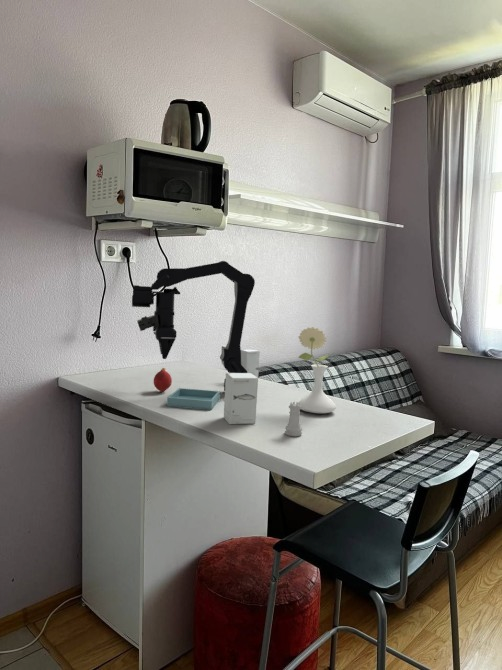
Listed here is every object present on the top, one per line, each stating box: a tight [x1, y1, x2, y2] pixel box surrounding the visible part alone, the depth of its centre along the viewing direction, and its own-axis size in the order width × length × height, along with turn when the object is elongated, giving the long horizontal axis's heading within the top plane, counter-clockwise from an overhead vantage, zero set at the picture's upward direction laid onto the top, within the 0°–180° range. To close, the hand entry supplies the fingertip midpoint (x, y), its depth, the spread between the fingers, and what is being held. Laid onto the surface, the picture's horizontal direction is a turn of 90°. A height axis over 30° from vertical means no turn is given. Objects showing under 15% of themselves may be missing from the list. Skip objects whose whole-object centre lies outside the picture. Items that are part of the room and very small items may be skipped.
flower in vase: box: [298, 326, 337, 414], centre depth 156 cm, size 13×11×25 cm
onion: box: [153, 367, 173, 393], centre depth 170 cm, size 6×6×8 cm
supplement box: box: [223, 372, 259, 425], centre depth 142 cm, size 7×7×13 cm
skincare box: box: [241, 349, 261, 379], centre depth 192 cm, size 6×4×12 cm
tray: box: [166, 387, 221, 411], centre depth 159 cm, size 13×13×3 cm
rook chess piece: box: [284, 401, 303, 438], centre depth 133 cm, size 4×4×8 cm
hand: (163, 356), depth 169 cm, fingers open, 9 cm apart
